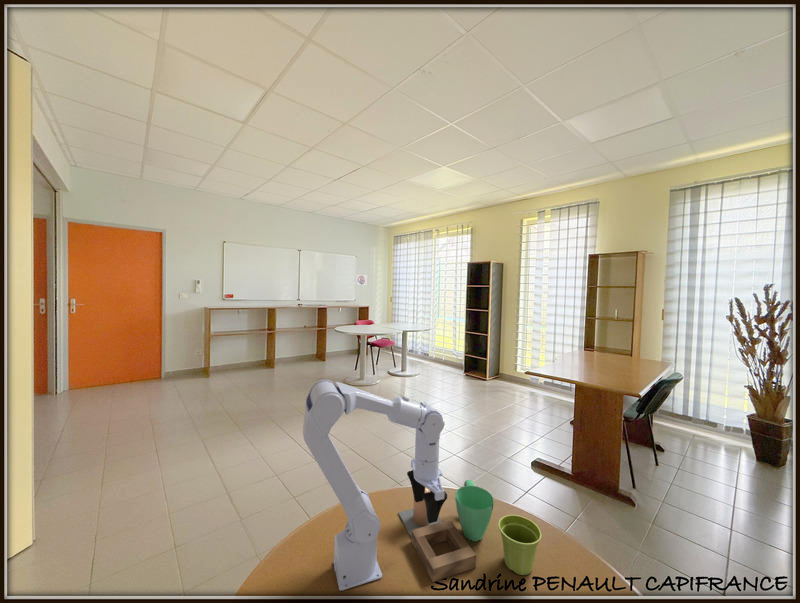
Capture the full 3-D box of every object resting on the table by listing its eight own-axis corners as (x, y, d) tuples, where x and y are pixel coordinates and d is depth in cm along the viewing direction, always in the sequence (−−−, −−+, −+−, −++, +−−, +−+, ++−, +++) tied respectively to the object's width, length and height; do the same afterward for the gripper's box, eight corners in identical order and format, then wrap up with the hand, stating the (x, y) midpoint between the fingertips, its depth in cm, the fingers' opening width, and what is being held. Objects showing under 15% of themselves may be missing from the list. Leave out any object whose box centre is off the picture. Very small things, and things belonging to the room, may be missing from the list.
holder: (432, 582, 71) (433, 569, 71) (411, 541, 82) (411, 530, 82) (475, 567, 75) (476, 555, 74) (449, 530, 86) (449, 519, 86)
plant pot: (491, 549, 80) (492, 515, 80) (527, 547, 81) (529, 513, 81) (507, 583, 71) (508, 545, 70) (548, 580, 72) (549, 543, 71)
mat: (412, 539, 83) (412, 538, 82) (398, 513, 92) (398, 512, 92) (446, 529, 86) (447, 528, 86) (430, 505, 95) (430, 504, 95)
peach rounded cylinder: (417, 528, 86) (419, 495, 85) (409, 515, 90) (411, 484, 90) (434, 523, 88) (435, 491, 87) (426, 511, 92) (427, 480, 92)
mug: (496, 550, 80) (498, 510, 79) (456, 548, 80) (458, 509, 80) (483, 509, 94) (485, 476, 94) (450, 508, 95) (451, 474, 94)
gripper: (456, 469, 73) (455, 527, 74) (428, 440, 86) (427, 489, 87) (428, 474, 70) (427, 535, 71) (404, 444, 84) (402, 495, 85)
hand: (425, 510), depth 79 cm, fingers open, 7 cm apart
